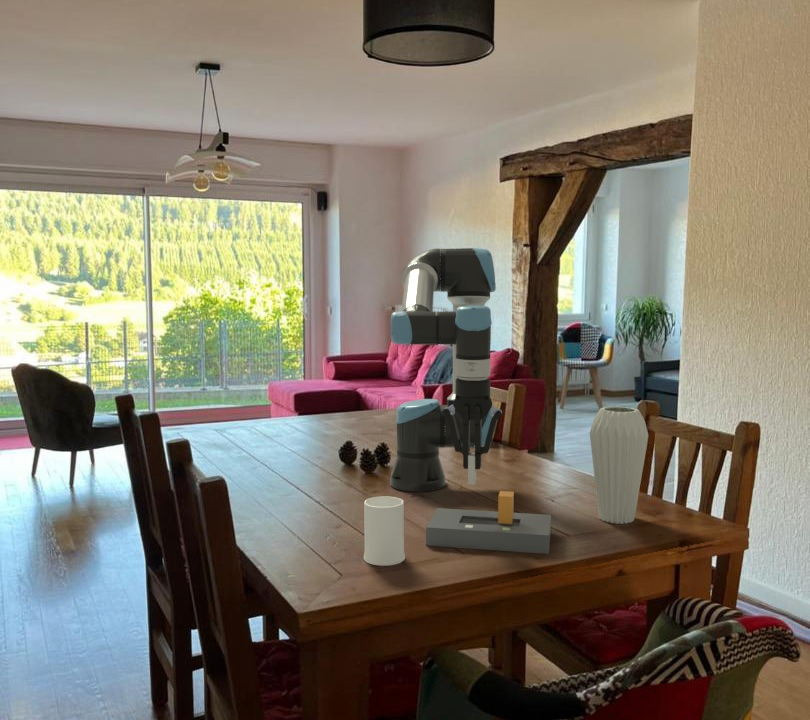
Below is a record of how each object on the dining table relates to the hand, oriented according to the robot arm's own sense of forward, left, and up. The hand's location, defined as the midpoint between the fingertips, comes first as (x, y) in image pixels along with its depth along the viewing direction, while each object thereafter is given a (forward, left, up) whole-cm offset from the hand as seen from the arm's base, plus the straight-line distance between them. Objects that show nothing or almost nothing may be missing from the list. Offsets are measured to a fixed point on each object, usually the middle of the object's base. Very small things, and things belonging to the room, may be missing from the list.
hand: (472, 482), depth 174 cm
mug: (-17, -16, -12) cm, 26 cm away
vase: (+32, +19, -12) cm, 40 cm away
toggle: (+8, -1, -8) cm, 11 cm away
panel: (+4, -1, -12) cm, 13 cm away
